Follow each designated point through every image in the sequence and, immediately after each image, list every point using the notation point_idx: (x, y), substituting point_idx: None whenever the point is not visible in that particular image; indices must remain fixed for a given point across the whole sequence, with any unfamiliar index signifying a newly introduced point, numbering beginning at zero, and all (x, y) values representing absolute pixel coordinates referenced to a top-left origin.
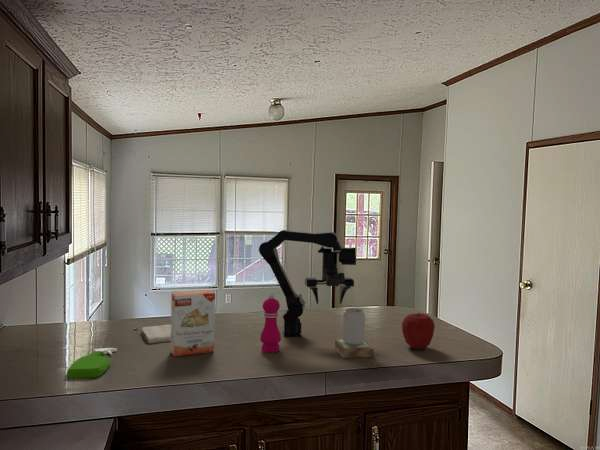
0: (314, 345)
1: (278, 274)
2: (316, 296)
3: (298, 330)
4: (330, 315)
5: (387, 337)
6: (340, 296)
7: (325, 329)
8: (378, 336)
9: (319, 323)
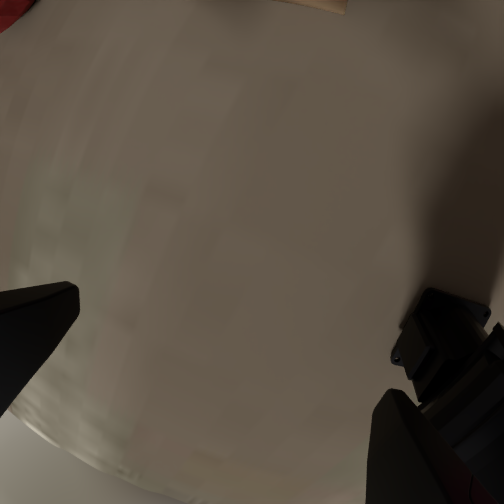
0: (436, 101)
1: None
2: (455, 472)
3: (433, 320)
4: (143, 456)
5: (29, 128)
6: (8, 345)
7: (229, 349)
8: (47, 150)
9: (216, 422)
